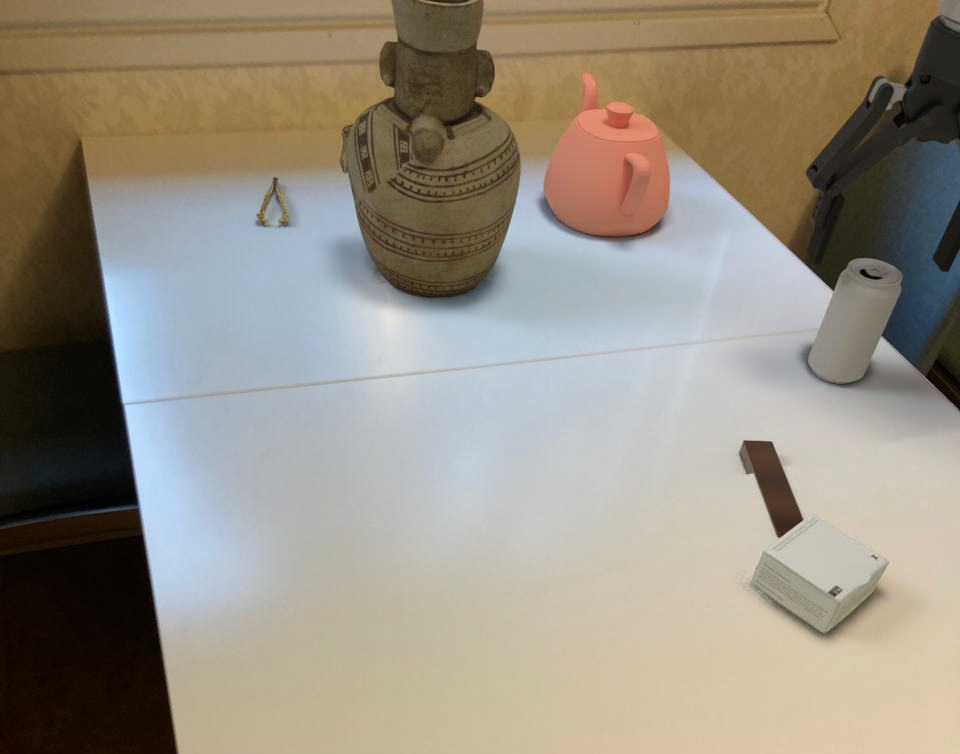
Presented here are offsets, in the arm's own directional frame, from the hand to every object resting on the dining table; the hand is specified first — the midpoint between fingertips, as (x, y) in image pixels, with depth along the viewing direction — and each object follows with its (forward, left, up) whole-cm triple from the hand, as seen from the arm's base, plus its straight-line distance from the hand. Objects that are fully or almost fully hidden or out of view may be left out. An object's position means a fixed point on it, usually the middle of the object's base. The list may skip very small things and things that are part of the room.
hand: (877, 261), depth 96 cm
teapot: (+43, +8, -13) cm, 45 cm away
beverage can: (0, 0, -13) cm, 13 cm away
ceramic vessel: (+32, +37, -13) cm, 50 cm away
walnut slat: (-17, +20, -13) cm, 29 cm away
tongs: (+54, +51, -13) cm, 75 cm away
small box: (-29, +24, -13) cm, 40 cm away
